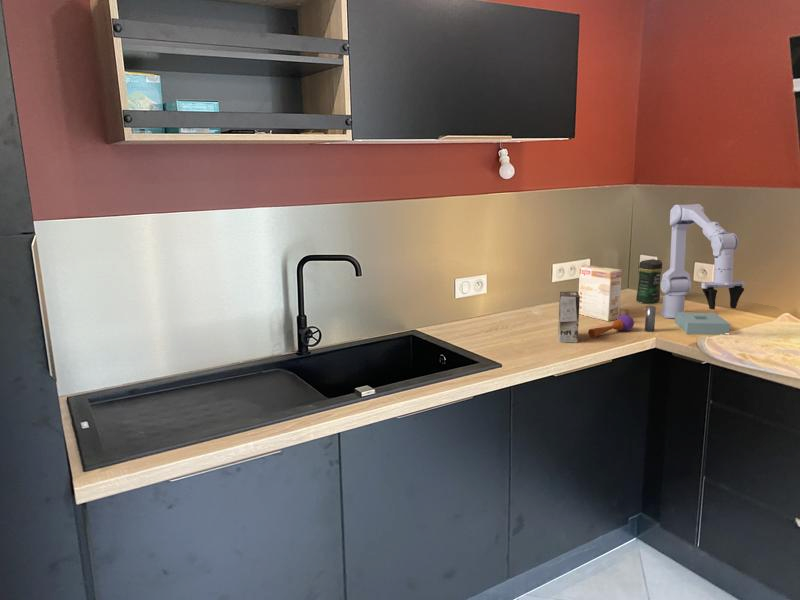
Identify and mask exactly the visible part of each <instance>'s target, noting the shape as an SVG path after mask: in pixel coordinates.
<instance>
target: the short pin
mask: <svg viewBox="0 0 800 600" xmlns="http://www.w3.org/2000/svg"><path fill="white" fill-rule="evenodd" d="M629 313H630V311H629V309H626V308H621V309H620V310H619V317H620V316H621V315H629Z"/></svg>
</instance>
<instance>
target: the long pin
mask: <svg viewBox="0 0 800 600" xmlns="http://www.w3.org/2000/svg"><path fill="white" fill-rule="evenodd" d="M645 308H646V309H645V321H644V332H647V333H654V332H655V326H656V325H655V323H656V322H655V321H656V309H657V306H655V305H646V307H645Z"/></svg>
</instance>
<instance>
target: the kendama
mask: <svg viewBox="0 0 800 600" xmlns="http://www.w3.org/2000/svg"><path fill="white" fill-rule="evenodd" d="M634 325H635V321H634V318H633V317H632V316H630V315H629V314H628V315H621V316H620V317H619V318H618V319H617V320H614V321H613V323H612V324H611V325H607V326H600V327H596V328H590V329H588V331H587V335H588V337H590V338H592V339H594V338H596V337H599V336H601V335H603V334H605V333H606V332H608V331H610V330H616V331H618V332H620V331H622V332H628V331H631V330H632V329H633V327H634Z"/></svg>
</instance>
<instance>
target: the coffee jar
mask: <svg viewBox="0 0 800 600" xmlns="http://www.w3.org/2000/svg"><path fill="white" fill-rule="evenodd" d="M662 271H663V262H662V261H661V260H659V259H654V258H651V259H647V260H641V261H640V262H639V265H638V284H637V291H636V298H635V299H636V300H635V301H636V302H637V303H640V302H642V303H641V304H648V303H652V304H656V303H659V302H660V300H661V299H660V298H661V274H662Z"/></svg>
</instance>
